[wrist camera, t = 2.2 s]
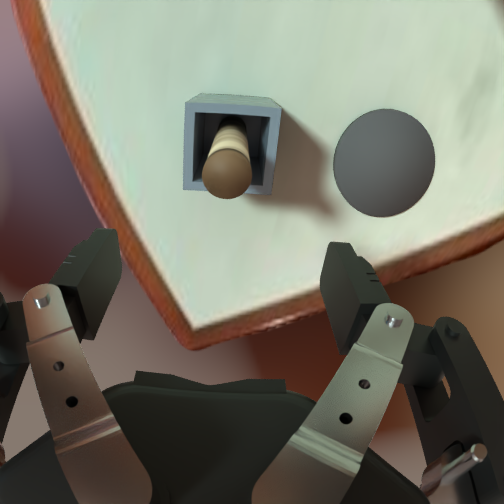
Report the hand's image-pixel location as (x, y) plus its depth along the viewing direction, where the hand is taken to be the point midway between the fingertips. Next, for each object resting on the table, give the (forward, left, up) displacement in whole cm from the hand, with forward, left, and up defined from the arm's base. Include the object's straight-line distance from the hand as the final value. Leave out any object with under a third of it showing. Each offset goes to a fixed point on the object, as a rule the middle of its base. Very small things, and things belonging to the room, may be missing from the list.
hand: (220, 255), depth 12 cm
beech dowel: (0, 0, -25) cm, 25 cm away
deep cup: (0, 0, -26) cm, 26 cm away
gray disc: (+2, +19, -26) cm, 32 cm away
